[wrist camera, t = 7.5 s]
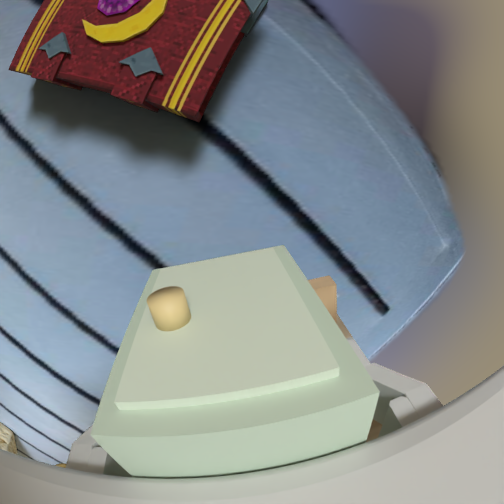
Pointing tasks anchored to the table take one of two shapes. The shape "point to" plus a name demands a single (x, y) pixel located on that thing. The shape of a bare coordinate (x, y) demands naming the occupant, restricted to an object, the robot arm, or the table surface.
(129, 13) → the decorative book
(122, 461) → the sage cabinet
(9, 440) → the storage basket
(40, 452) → the table surface
